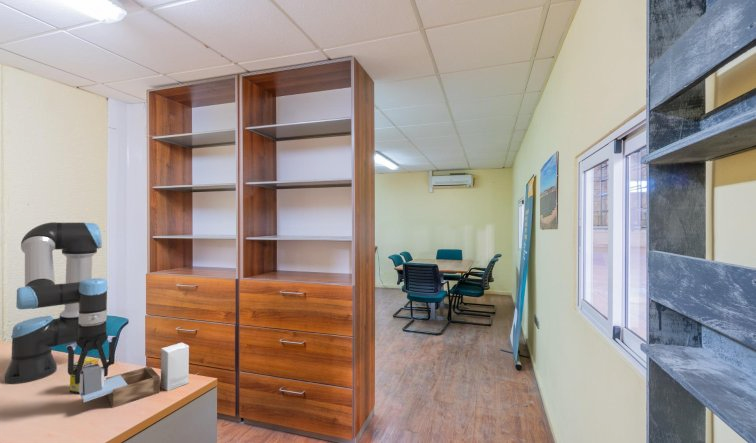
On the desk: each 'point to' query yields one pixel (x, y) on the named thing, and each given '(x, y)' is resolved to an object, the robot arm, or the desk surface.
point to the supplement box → (88, 362)
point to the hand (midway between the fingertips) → (91, 388)
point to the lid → (98, 383)
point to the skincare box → (174, 366)
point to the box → (135, 386)
